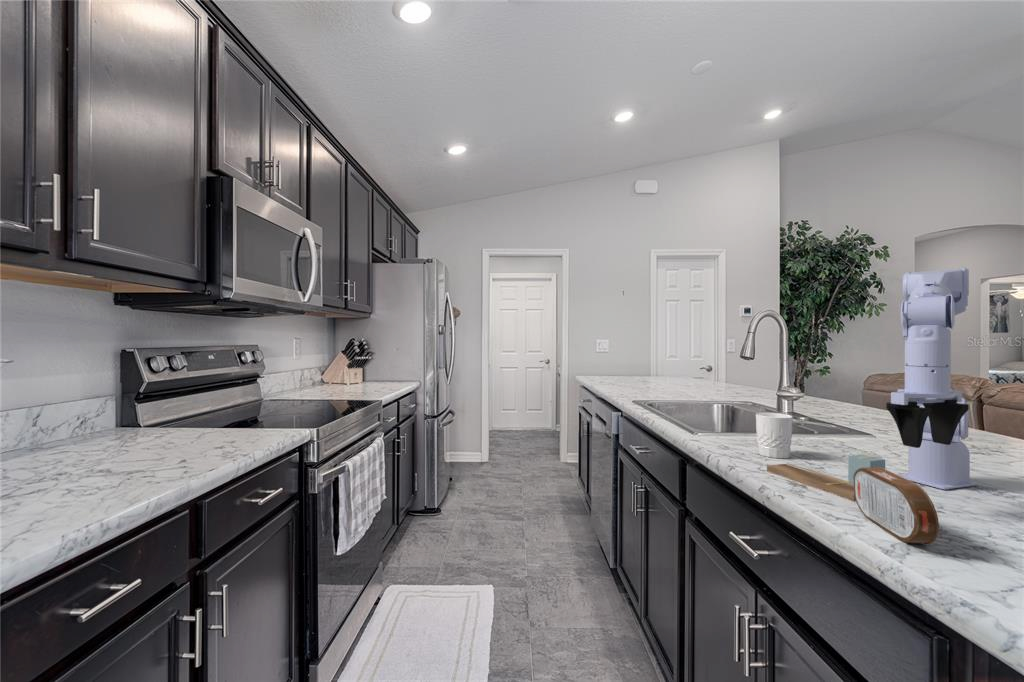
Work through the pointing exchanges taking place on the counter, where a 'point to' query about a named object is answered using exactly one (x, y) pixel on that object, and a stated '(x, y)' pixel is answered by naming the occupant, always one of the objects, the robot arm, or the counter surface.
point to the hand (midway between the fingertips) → (926, 445)
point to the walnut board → (815, 479)
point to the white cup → (774, 434)
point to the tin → (896, 505)
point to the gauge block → (862, 464)
